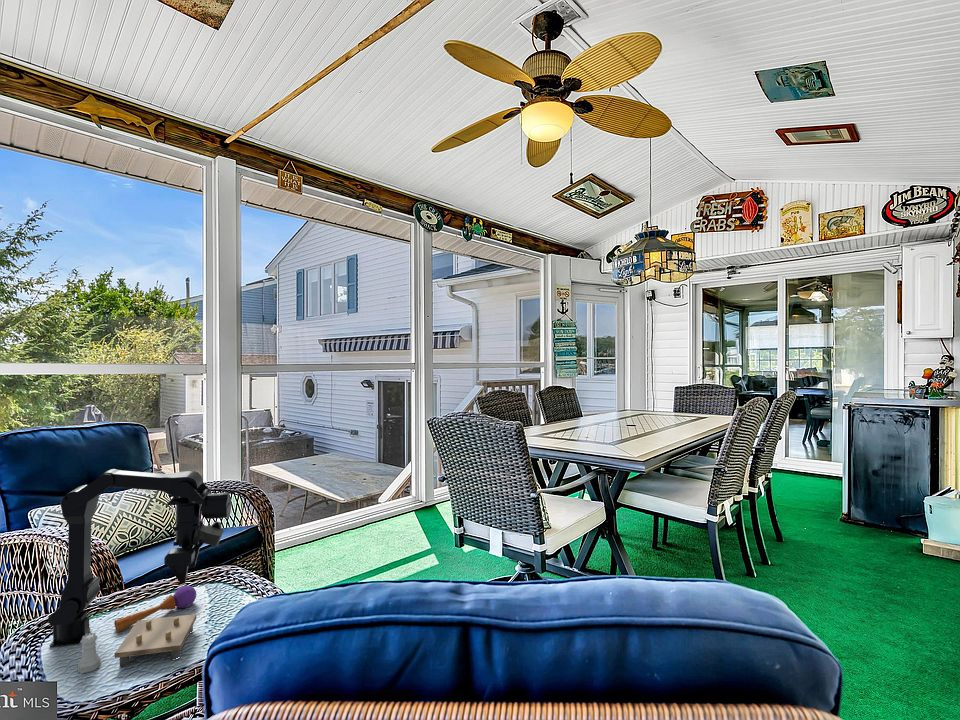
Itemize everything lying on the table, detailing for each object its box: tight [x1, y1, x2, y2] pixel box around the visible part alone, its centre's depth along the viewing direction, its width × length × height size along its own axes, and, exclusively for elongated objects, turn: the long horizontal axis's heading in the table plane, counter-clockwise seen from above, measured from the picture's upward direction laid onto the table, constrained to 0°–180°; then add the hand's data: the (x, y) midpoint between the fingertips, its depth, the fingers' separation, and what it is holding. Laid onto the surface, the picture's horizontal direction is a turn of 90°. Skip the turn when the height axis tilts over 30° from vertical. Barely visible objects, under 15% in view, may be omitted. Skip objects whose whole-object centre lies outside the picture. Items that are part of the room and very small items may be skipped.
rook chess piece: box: [77, 631, 102, 674], centre depth 120 cm, size 4×4×8 cm
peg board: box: [114, 613, 197, 668], centre depth 128 cm, size 14×14×6 cm
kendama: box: [113, 585, 197, 633], centre depth 142 cm, size 6×6×20 cm
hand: (187, 575), depth 137 cm, fingers open, 9 cm apart
